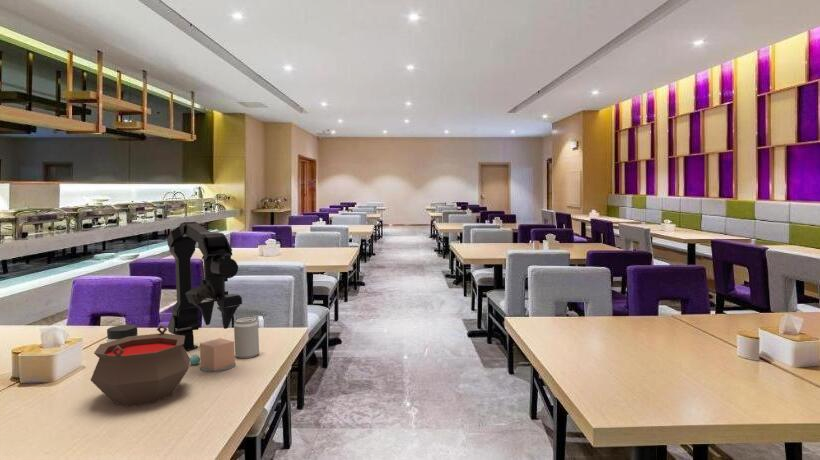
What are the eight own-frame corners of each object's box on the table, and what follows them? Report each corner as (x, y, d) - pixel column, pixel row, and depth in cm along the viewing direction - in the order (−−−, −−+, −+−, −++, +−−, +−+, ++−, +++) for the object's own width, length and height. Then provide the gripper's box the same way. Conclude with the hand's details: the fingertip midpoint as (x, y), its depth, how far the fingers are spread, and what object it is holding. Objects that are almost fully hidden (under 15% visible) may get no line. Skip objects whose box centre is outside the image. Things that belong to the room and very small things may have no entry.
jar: (137, 368, 161) (135, 329, 160) (106, 372, 158) (104, 332, 157) (140, 360, 169) (139, 323, 168) (111, 363, 166) (109, 325, 165)
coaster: (193, 368, 160) (193, 366, 160) (222, 359, 168) (222, 358, 168) (213, 374, 154) (213, 372, 154) (242, 364, 162) (242, 363, 162)
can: (252, 359, 168) (250, 322, 167) (230, 358, 169) (229, 321, 168) (263, 352, 175) (262, 316, 174) (242, 351, 177) (241, 316, 176)
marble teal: (188, 364, 163) (187, 355, 163) (196, 362, 166) (196, 352, 166) (193, 366, 162) (193, 356, 161) (202, 364, 164) (202, 354, 164)
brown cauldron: (125, 380, 151) (122, 323, 150) (208, 379, 150) (206, 322, 149) (68, 414, 127) (64, 347, 126) (167, 414, 126) (164, 346, 125)
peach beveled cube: (200, 366, 161) (199, 343, 160) (221, 360, 166) (220, 338, 166) (214, 370, 156) (213, 346, 156) (234, 364, 162) (233, 341, 162)
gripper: (172, 276, 159) (174, 328, 160) (208, 281, 148) (210, 336, 148) (205, 271, 168) (207, 321, 169) (242, 276, 157) (244, 328, 157)
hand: (216, 326), depth 161 cm, fingers open, 9 cm apart
